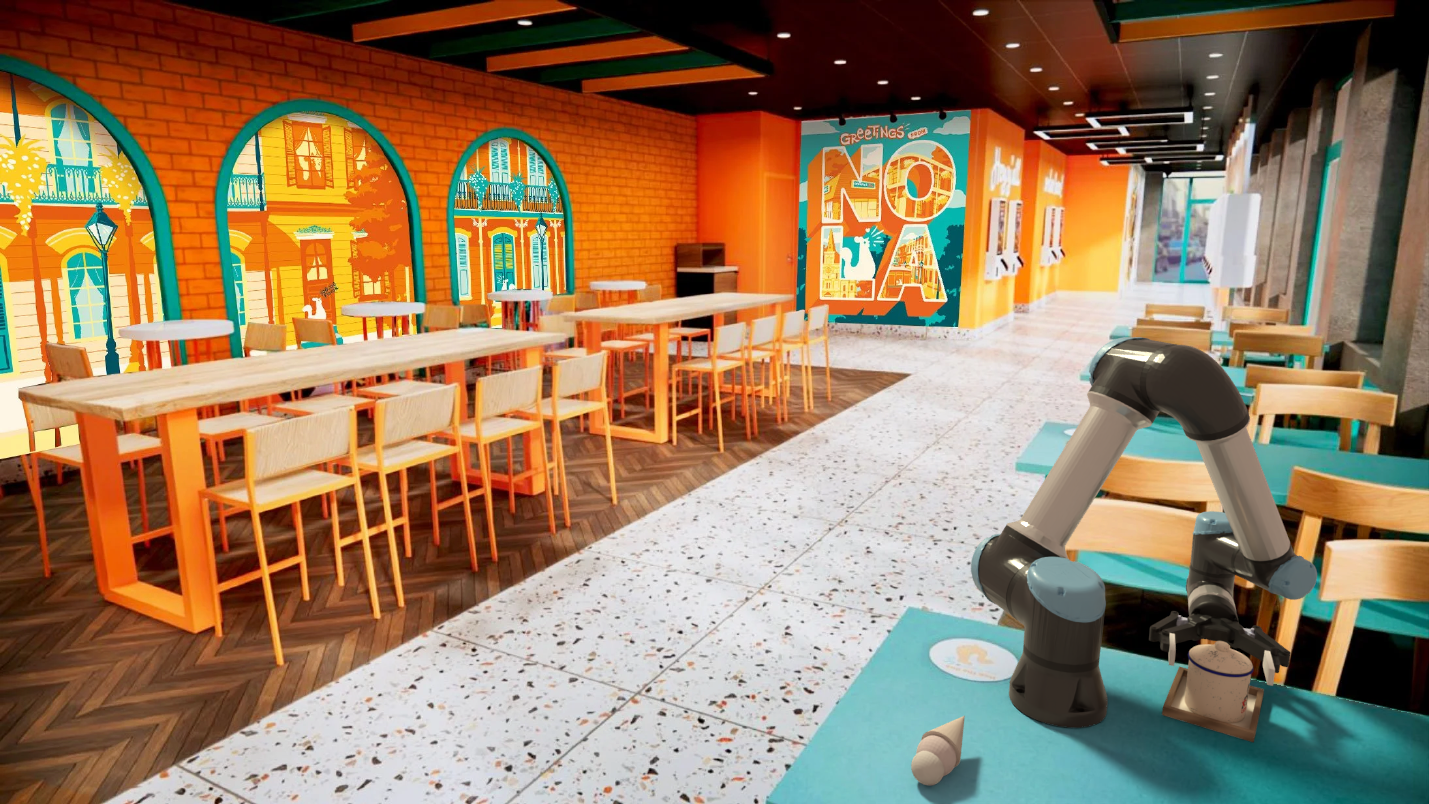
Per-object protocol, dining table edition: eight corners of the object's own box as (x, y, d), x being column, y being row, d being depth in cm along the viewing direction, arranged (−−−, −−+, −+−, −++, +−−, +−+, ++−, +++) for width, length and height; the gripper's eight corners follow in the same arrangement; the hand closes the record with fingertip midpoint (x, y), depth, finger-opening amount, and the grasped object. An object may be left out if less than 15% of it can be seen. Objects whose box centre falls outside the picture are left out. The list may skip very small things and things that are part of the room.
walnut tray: (1161, 714, 136) (1162, 706, 135) (1178, 674, 148) (1179, 666, 148) (1253, 742, 128) (1254, 733, 128) (1263, 697, 141) (1264, 689, 140)
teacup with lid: (1256, 728, 131) (1265, 659, 129) (1193, 721, 133) (1201, 654, 131) (1227, 687, 143) (1235, 624, 141) (1169, 682, 145) (1176, 619, 142)
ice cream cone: (968, 739, 130) (924, 803, 119) (938, 708, 131) (892, 768, 121) (992, 723, 126) (949, 788, 115) (961, 691, 127) (916, 752, 117)
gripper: (1292, 647, 147) (1312, 708, 129) (1134, 618, 159) (1131, 671, 140) (1297, 607, 146) (1318, 663, 127) (1137, 581, 157) (1135, 629, 139)
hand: (1220, 667), depth 134 cm, fingers open, 13 cm apart
